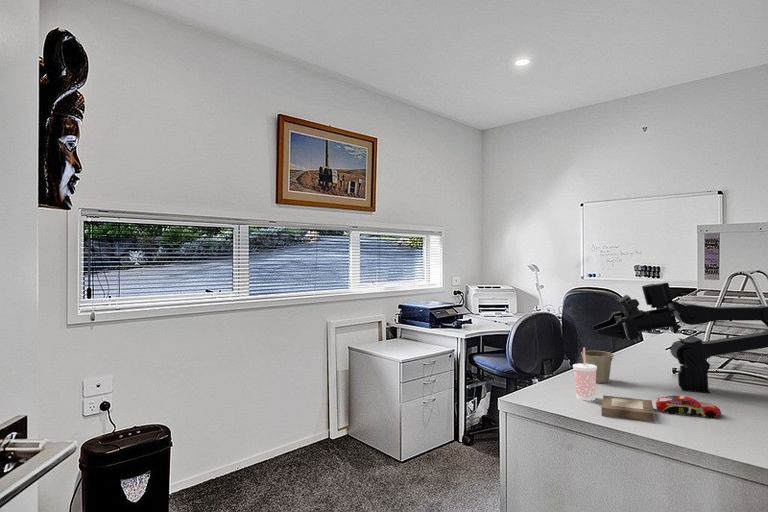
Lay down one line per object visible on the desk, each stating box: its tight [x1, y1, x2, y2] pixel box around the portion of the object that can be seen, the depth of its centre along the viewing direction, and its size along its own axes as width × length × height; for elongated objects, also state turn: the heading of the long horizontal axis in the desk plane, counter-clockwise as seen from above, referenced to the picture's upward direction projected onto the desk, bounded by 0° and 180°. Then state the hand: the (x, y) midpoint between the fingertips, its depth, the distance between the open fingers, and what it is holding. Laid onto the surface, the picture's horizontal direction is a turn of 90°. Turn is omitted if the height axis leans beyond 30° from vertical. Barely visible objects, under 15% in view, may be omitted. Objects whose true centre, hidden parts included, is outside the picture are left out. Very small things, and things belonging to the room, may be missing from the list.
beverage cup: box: [572, 346, 597, 402], centre depth 123 cm, size 6×6×14 cm
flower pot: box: [580, 350, 615, 384], centre depth 140 cm, size 9×9×9 cm
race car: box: [655, 395, 722, 419], centre depth 109 cm, size 13×5×4 cm, turn 62°
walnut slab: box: [601, 395, 655, 423], centre depth 111 cm, size 11×11×2 cm
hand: (594, 330), depth 137 cm, fingers open, 9 cm apart
